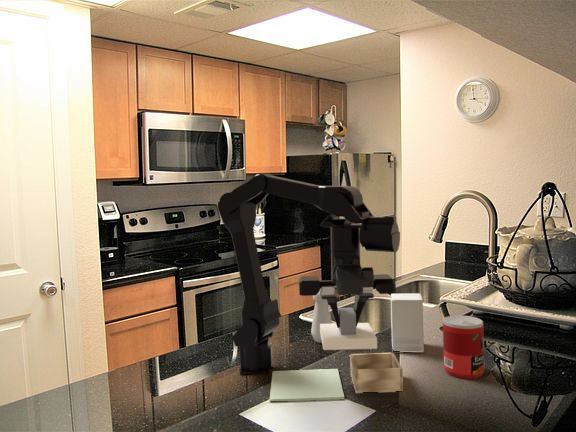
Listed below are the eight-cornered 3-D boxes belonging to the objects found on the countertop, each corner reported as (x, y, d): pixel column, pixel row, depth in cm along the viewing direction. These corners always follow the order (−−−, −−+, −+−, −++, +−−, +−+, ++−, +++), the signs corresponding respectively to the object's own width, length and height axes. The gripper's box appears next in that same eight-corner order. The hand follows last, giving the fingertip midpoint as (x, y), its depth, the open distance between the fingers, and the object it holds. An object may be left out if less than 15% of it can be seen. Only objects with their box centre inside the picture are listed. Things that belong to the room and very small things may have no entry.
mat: (269, 402, 92) (269, 399, 92) (272, 373, 106) (272, 371, 106) (344, 399, 92) (344, 396, 92) (337, 371, 106) (337, 368, 106)
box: (356, 393, 94) (355, 370, 94) (350, 375, 103) (349, 354, 103) (403, 391, 94) (402, 368, 94) (393, 373, 103) (392, 352, 103)
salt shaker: (308, 342, 125) (306, 292, 124) (315, 336, 130) (313, 287, 130) (330, 344, 123) (328, 293, 122) (336, 337, 128) (335, 288, 127)
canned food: (480, 382, 97) (479, 327, 96) (439, 375, 101) (438, 322, 100) (487, 368, 103) (486, 317, 103) (448, 362, 108) (447, 313, 107)
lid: (323, 349, 93) (322, 318, 93) (320, 333, 103) (319, 305, 103) (377, 348, 93) (376, 317, 93) (368, 332, 103) (368, 304, 103)
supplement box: (424, 353, 114) (423, 300, 113) (392, 352, 116) (390, 299, 115) (422, 343, 121) (421, 292, 120) (391, 342, 123) (390, 292, 122)
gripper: (299, 257, 89) (301, 341, 90) (402, 255, 89) (402, 339, 90) (298, 248, 100) (299, 323, 101) (389, 246, 100) (390, 321, 101)
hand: (346, 327), depth 98 cm, fingers closed on lid, 3 cm apart
